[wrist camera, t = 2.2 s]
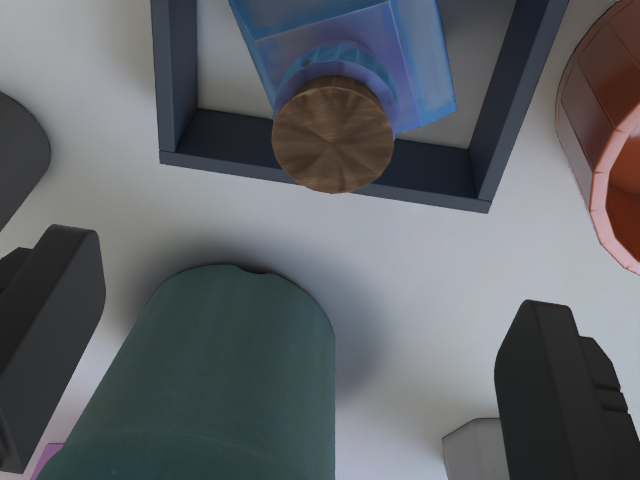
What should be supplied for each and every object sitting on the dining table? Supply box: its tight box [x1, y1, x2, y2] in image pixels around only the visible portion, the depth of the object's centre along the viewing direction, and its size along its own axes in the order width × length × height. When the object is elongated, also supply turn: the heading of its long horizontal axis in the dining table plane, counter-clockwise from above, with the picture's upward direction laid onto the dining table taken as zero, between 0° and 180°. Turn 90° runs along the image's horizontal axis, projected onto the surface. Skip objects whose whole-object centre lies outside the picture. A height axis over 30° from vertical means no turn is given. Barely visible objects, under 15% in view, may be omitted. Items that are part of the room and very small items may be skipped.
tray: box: [150, 0, 569, 214], centre depth 23 cm, size 14×14×4 cm
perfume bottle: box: [228, 0, 457, 194], centre depth 20 cm, size 6×6×12 cm
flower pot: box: [35, 265, 335, 480], centre depth 33 cm, size 16×16×16 cm
